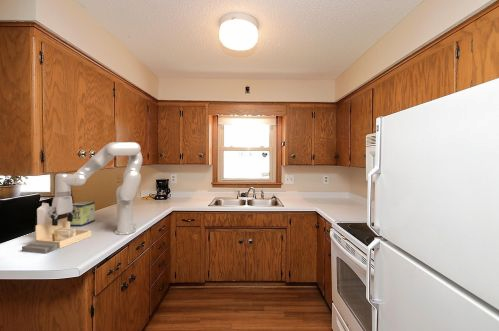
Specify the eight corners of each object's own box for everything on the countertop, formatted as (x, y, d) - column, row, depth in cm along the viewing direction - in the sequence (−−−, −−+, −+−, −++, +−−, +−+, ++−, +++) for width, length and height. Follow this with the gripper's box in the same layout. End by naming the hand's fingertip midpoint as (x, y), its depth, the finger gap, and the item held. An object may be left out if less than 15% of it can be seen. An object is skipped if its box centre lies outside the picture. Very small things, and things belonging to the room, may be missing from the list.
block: (61, 239, 154) (61, 228, 154) (75, 240, 152) (75, 228, 152) (54, 241, 150) (54, 230, 149) (69, 243, 148) (68, 231, 148)
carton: (69, 235, 163) (69, 216, 162) (91, 237, 160) (90, 218, 159) (36, 247, 142) (35, 225, 142) (59, 249, 139) (59, 227, 139)
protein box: (67, 226, 183) (66, 205, 183) (82, 221, 199) (81, 201, 198) (81, 226, 183) (81, 205, 182) (95, 221, 199) (95, 201, 198)
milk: (48, 237, 160) (47, 202, 159) (55, 238, 158) (54, 202, 157) (37, 239, 154) (36, 203, 154) (44, 241, 152) (43, 204, 151)
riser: (34, 247, 141) (34, 242, 141) (57, 249, 138) (57, 244, 138) (22, 252, 135) (21, 246, 134) (45, 254, 132) (45, 248, 132)
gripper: (70, 192, 159) (70, 219, 159) (43, 196, 142) (42, 226, 142) (80, 193, 158) (80, 220, 158) (54, 196, 141) (53, 227, 141)
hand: (62, 223), depth 150 cm, fingers open, 9 cm apart
